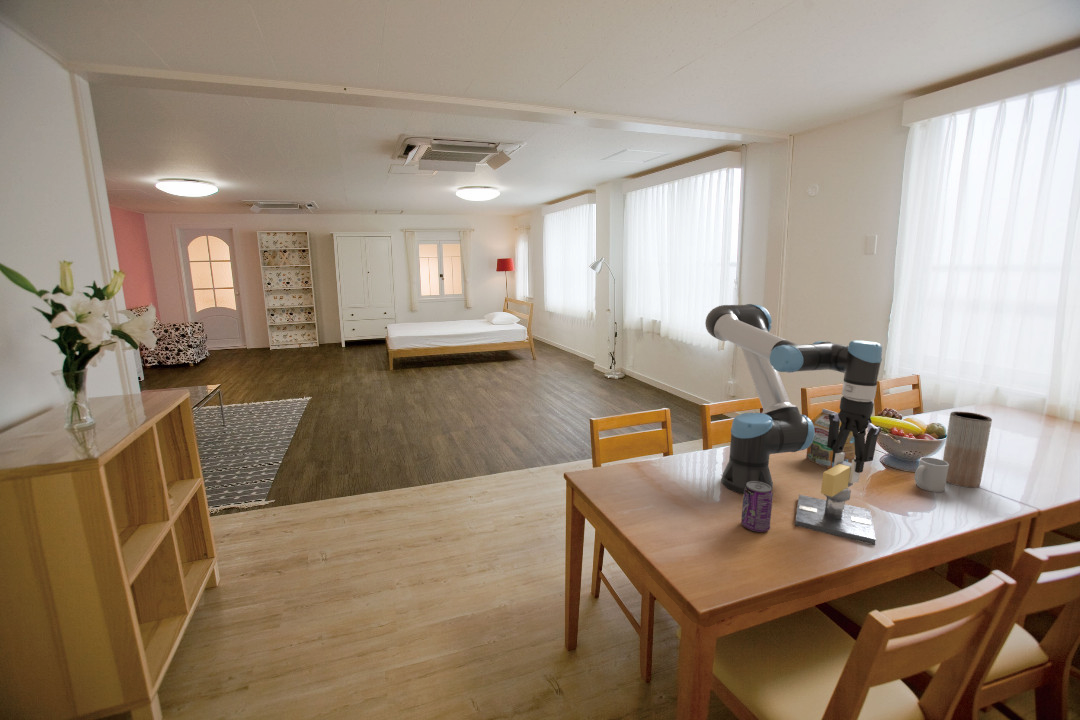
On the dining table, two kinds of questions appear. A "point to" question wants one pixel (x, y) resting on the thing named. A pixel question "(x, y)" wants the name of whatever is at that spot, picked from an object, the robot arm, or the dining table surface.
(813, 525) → the post base
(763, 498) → the beverage can
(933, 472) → the grey cup
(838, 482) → the handle
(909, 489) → the dining table surface
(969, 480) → the planter
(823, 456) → the milk carton
